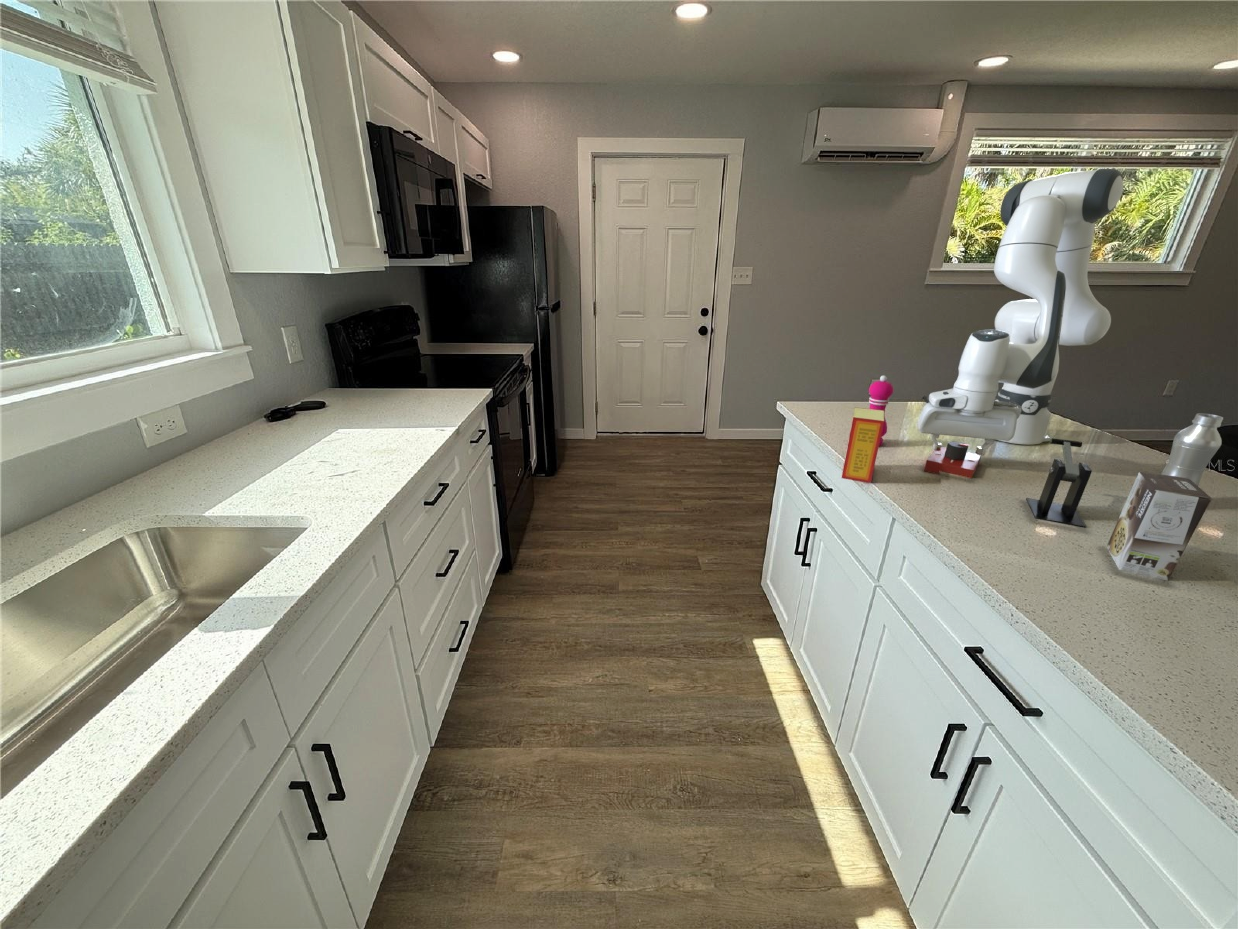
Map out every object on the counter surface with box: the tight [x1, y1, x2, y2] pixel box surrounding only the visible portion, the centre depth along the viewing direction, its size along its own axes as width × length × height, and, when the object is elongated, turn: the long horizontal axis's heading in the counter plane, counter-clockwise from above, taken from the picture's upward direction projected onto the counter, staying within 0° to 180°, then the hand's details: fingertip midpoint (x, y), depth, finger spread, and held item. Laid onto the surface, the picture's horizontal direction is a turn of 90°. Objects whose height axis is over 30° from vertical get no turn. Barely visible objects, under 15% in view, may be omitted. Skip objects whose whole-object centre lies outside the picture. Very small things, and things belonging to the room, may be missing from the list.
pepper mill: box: [868, 374, 894, 447], centre depth 139 cm, size 7×7×20 cm
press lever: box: [1049, 437, 1083, 483], centre depth 101 cm, size 11×5×2 cm, turn 151°
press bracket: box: [1025, 458, 1093, 529], centre depth 100 cm, size 10×8×12 cm
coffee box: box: [1106, 471, 1213, 582], centre depth 83 cm, size 9×6×16 cm
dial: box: [944, 440, 970, 460], centre depth 124 cm, size 4×4×4 cm
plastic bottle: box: [1160, 412, 1224, 487], centre depth 104 cm, size 6×7×20 cm
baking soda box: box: [841, 407, 884, 484], centre depth 120 cm, size 10×6×16 cm
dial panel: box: [923, 446, 982, 479], centre depth 125 cm, size 13×10×3 cm
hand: (957, 452), depth 124 cm, fingers open, 8 cm apart
